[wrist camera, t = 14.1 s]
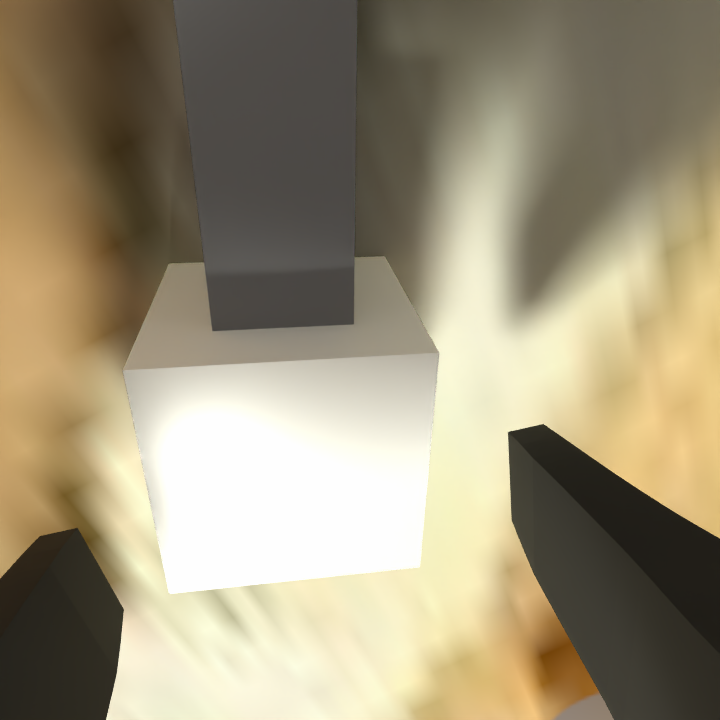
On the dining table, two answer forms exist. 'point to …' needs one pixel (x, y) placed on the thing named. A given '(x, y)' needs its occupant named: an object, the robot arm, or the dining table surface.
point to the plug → (279, 324)
